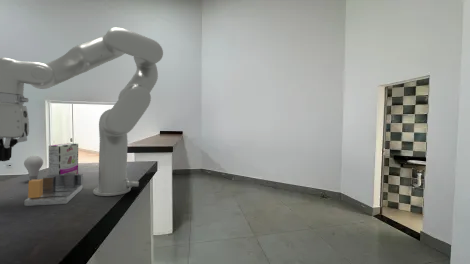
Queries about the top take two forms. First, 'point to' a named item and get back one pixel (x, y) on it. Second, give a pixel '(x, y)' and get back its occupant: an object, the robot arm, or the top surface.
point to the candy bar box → (63, 158)
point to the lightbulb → (33, 166)
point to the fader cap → (35, 188)
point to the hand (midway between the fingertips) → (3, 160)
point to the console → (58, 189)
